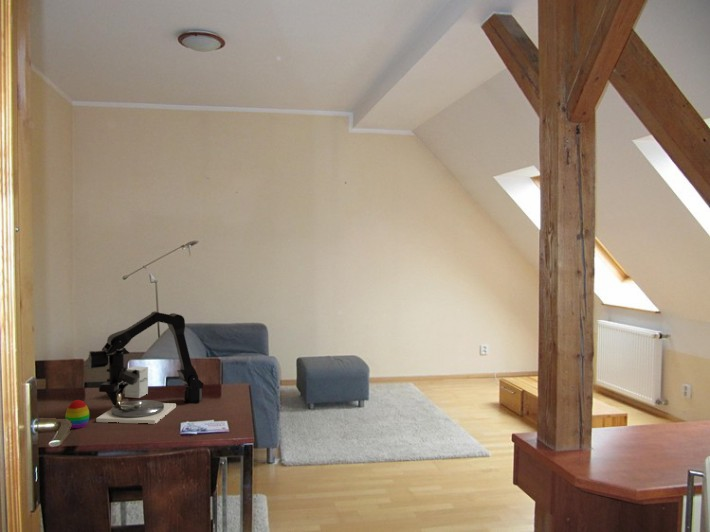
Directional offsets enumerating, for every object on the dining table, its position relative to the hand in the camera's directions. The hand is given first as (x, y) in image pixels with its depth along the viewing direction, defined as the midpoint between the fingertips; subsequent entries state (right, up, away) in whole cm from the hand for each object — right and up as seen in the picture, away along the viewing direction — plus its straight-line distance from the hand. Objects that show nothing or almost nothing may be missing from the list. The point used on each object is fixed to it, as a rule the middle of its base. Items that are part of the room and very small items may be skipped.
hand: (116, 403), depth 236 cm
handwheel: (+9, -2, -1) cm, 9 cm away
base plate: (+9, -4, -1) cm, 10 cm away
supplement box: (-2, -3, +27) cm, 27 cm away
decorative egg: (-8, -5, -17) cm, 19 cm away
